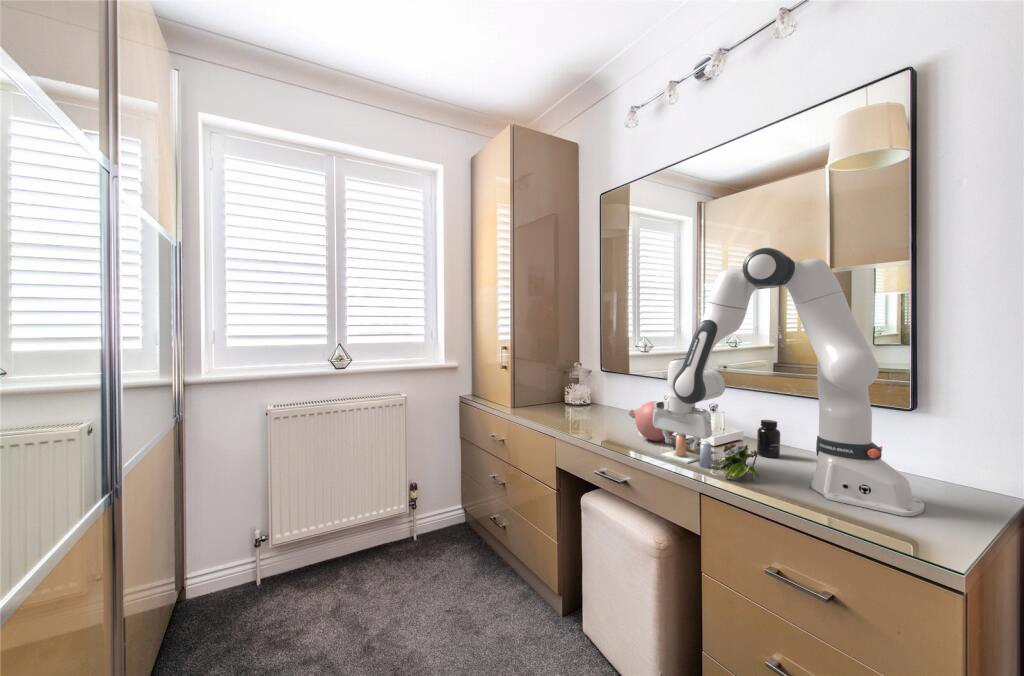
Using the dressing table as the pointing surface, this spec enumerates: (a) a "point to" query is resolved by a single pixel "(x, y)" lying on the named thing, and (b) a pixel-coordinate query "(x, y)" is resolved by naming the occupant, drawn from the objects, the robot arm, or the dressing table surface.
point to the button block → (692, 449)
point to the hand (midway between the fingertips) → (680, 446)
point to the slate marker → (705, 454)
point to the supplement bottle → (768, 439)
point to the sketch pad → (688, 459)
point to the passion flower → (737, 461)
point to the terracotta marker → (680, 445)
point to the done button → (691, 441)
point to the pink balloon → (647, 422)
